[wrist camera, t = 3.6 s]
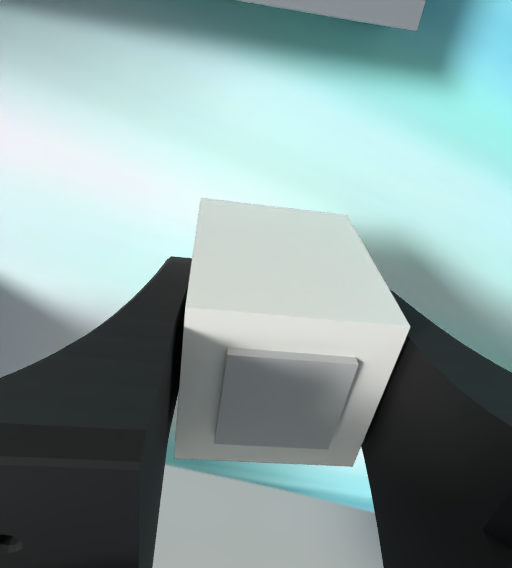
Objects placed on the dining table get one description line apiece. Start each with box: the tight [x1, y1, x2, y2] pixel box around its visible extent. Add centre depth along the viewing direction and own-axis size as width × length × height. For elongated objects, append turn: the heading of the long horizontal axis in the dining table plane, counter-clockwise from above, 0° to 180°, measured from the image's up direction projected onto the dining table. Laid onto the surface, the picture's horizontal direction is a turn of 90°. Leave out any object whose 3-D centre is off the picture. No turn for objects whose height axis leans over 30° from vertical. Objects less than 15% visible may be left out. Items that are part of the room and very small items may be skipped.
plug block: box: [174, 198, 410, 467], centre depth 11 cm, size 4×4×5 cm
